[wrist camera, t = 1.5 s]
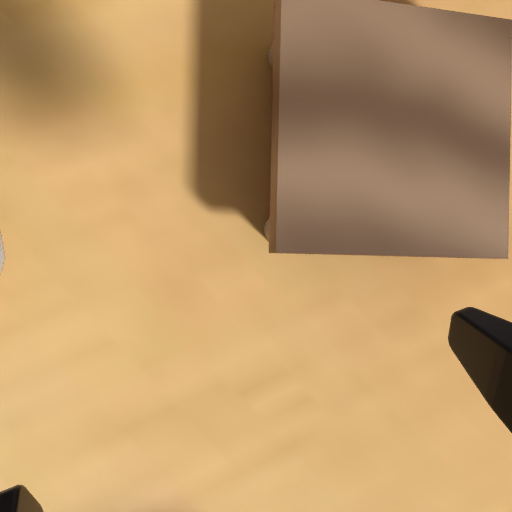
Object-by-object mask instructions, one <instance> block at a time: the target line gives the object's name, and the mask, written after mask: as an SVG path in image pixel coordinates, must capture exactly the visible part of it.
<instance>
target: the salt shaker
mask: <svg viewBox="0 0 512 512" xmlns="http://www.w3.org/2000/svg"><path fill="white" fill-rule="evenodd" d="M4 261H5V252H4V247H3V241H2V235H1V230H0V275H1V271H2V268H3V265H4Z"/></svg>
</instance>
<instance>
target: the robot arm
mask: <svg viewBox="0 0 512 512" xmlns="http://www.w3.org/2000/svg"><path fill="white" fill-rule="evenodd" d="M448 341H449V345H450V347H451V349H452V351H453V352H454V354H455V355H456V357H457V358H458V360H459V361H460V363H461V364H462V366H463V367H464V369H465V370H466V372H467V373H468V375H469V376H470V378H471V379H472V380H473V382H474V383H475V385H476V386H477V388H478V389H479V391H480V392H481V394H482V395H483V397H484V398H485V400H486V401H487V403H488V404H489V405H490V407H491V408H492V409H493V411H494V412H495V413H496V414H497V416H498V417H499V418H500V419H501V421H502V422H503V423H504V424H505V425H506V427H507V428H508V429H509V430H510V432H511V433H512V322H509V321H507V320H504V319H502V318H499V317H497V316H494V315H492V314H489V313H486V312H484V311H481V310H479V309H476V308H473V307H467V308H464V309H462V310H459V311H456V312H454V313H453V315H452V317H451V322H450V329H449V335H448ZM0 512H43V509H42V507H41V505H40V504H39V503H38V501H37V500H36V499H35V498H34V497H33V496H32V494H31V493H30V492H29V491H28V490H27V489H26V487H24V486H23V485H16V486H14V487H11V488H9V489H6V490H4V491H1V492H0Z"/></svg>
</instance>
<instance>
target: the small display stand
mask: <svg viewBox="0 0 512 512" xmlns="http://www.w3.org/2000/svg"><path fill="white" fill-rule="evenodd" d="M268 61H269V64H270V66H271V67H272V68H273V92H272V137H271V181H270V217H269V218H268V220H267V221H266V223H265V225H264V234H265V237H266V239H267V240H268V241H269V253H294V254H332V255H371V256H409V257H448V258H486V259H508V236H509V181H510V126H511V72H512V20H510V19H503V18H496V17H489V16H482V15H476V14H469V13H462V12H455V11H449V10H442V9H435V8H428V7H422V6H415V5H408V4H401V3H394V2H388V1H381V0H275V3H274V42H273V44H272V46H271V48H270V49H269V52H268Z"/></svg>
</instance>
